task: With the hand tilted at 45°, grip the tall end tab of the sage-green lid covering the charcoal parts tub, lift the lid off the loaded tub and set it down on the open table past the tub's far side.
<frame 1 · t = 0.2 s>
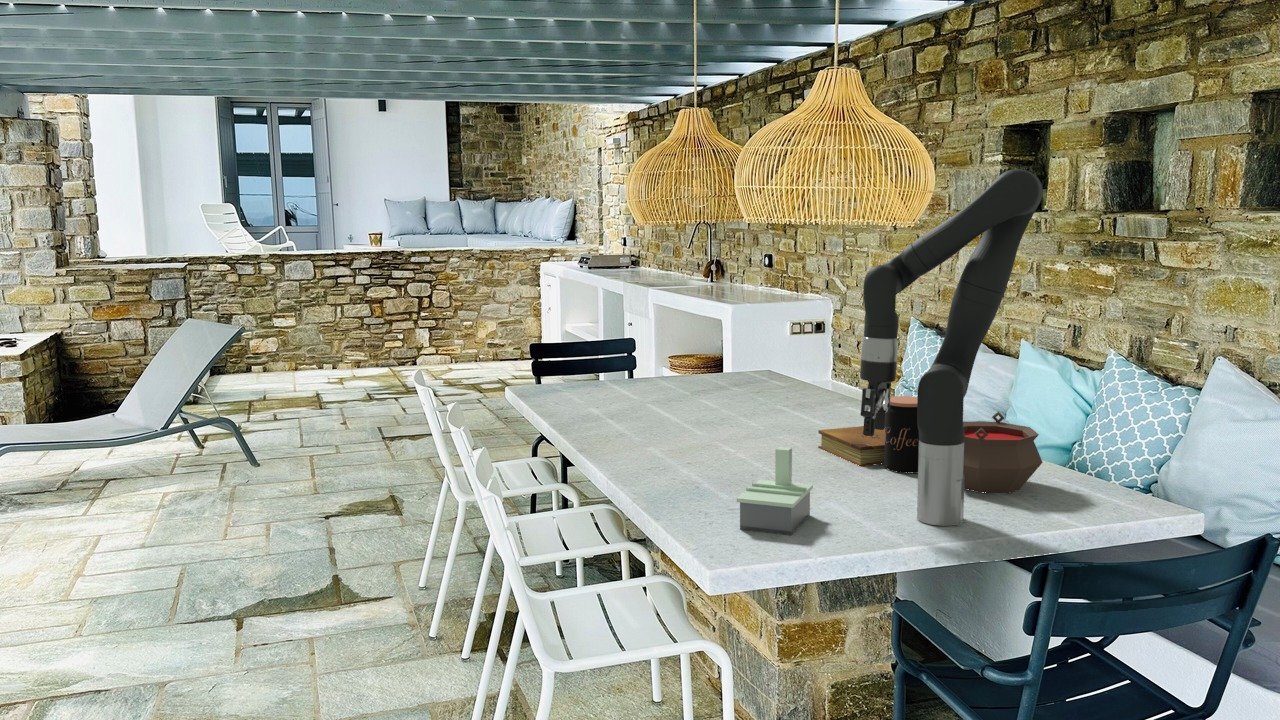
hand: (874, 432, 218), 18 cm above the table, tool pointing down, fingers open, 8 cm apart
coffee jar: (905, 469, 259), on the table
diary: (868, 456, 276), on the table
tub: (775, 522, 216), on the table
lid: (775, 494, 215), point 6 cm above the table, touching tub
brown faceted pot: (988, 486, 242), on the table
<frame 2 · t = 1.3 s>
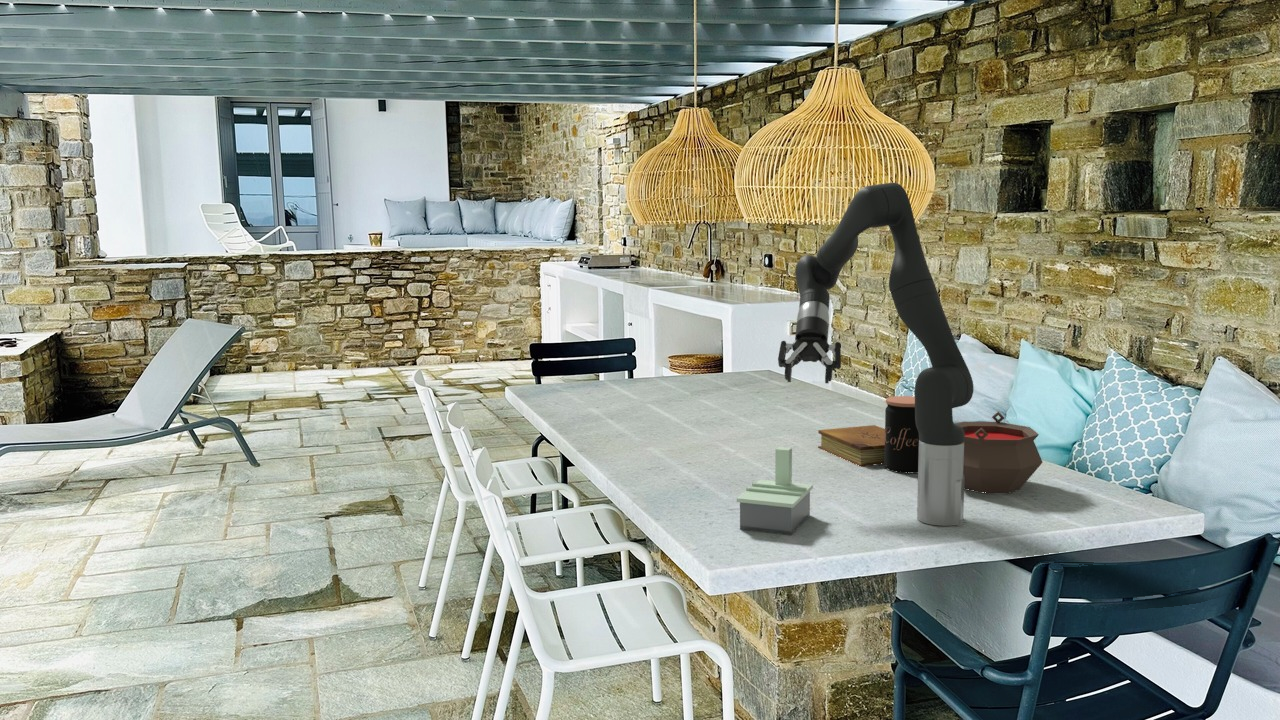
hand: (807, 380, 230), 28 cm above the table, tool tilted 45°, fingers open, 8 cm apart
nothing on the table moved.
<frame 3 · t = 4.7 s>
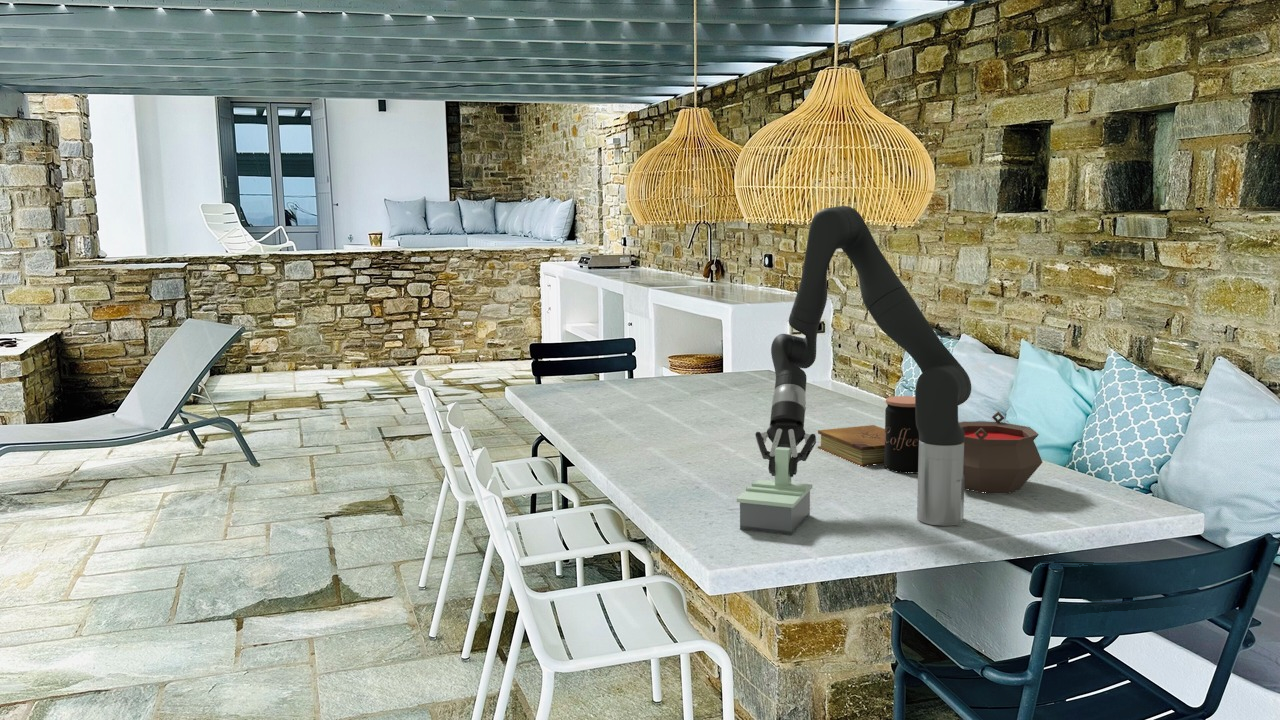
hand: (782, 474, 218), 10 cm above the table, tool tilted 45°, fingers closed on lid, 3 cm apart
lid: (775, 494, 215), point 6 cm above the table, touching gripper, tub
everything else where it was.
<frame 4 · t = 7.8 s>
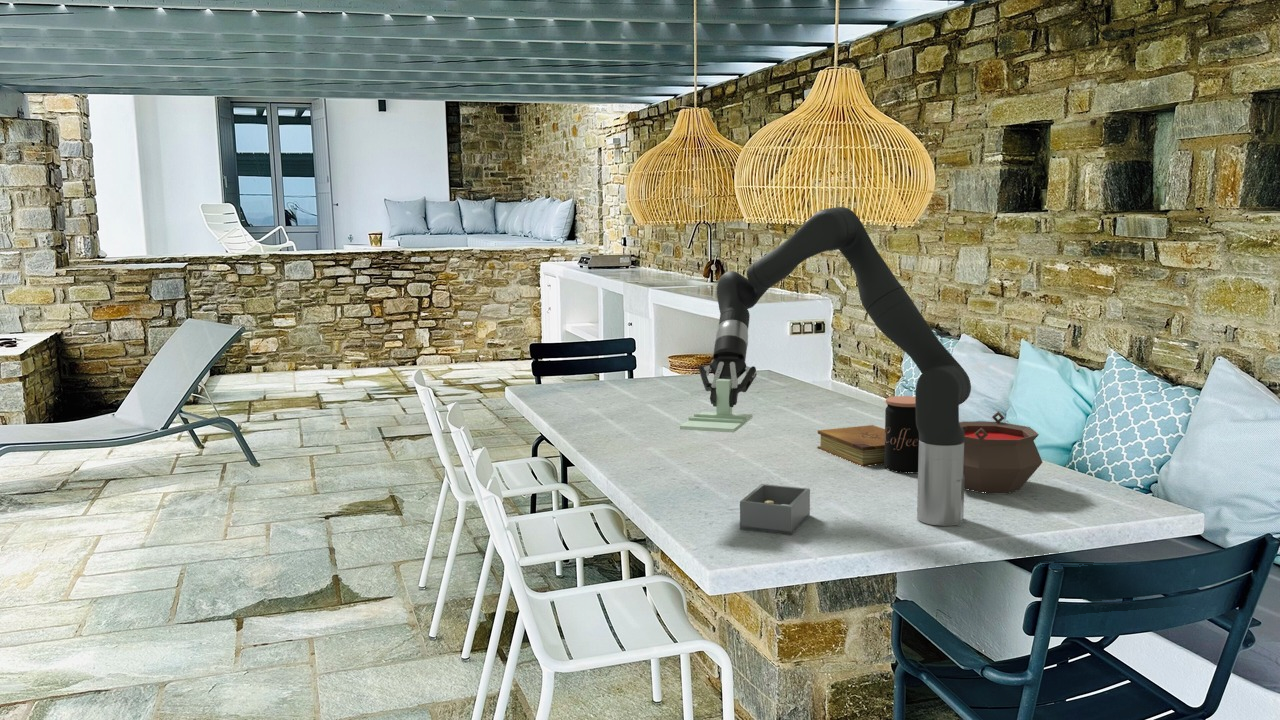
hand: (722, 404, 226), 23 cm above the table, tool tilted 45°, fingers closed on lid, 3 cm apart
lid: (717, 423, 223), point 20 cm above the table, touching gripper
everything else where it was.
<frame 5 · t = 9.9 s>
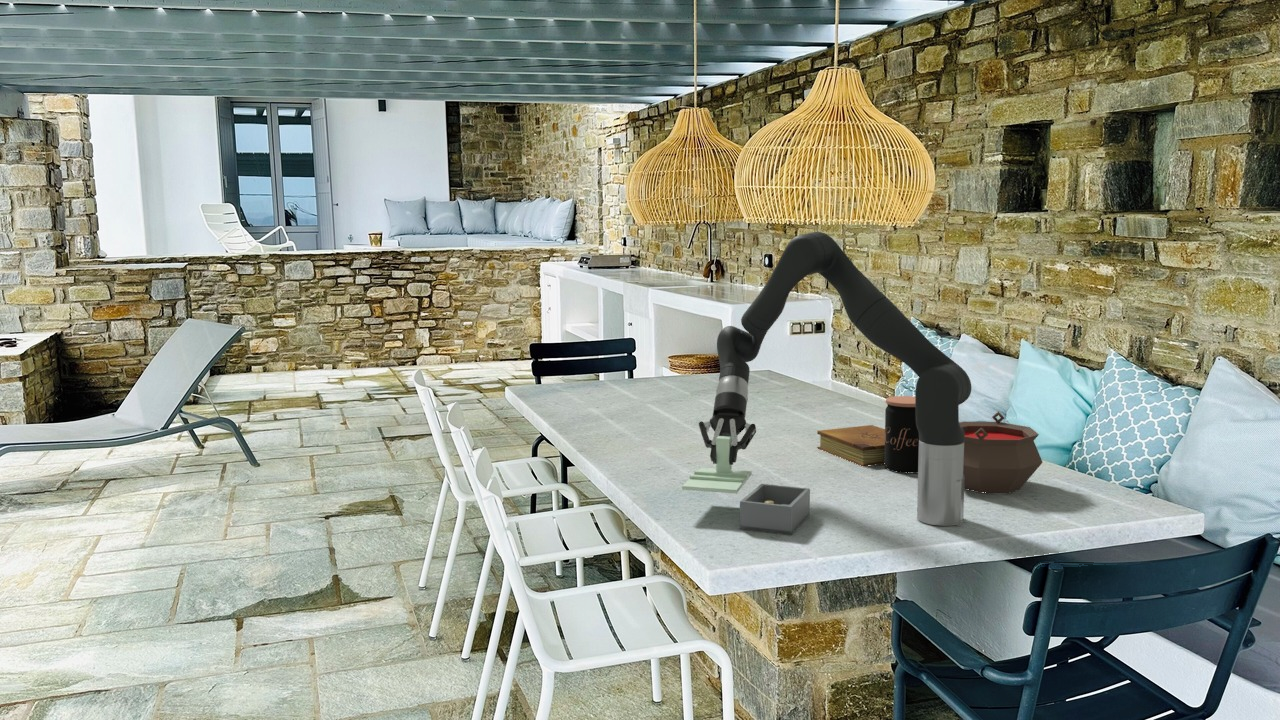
hand: (722, 462, 228), 10 cm above the table, tool tilted 45°, fingers closed on lid, 3 cm apart
lid: (717, 481, 224), point 6 cm above the table, touching gripper
everything else where it was.
when the fingers open (5 cm above the table, at t = 11.3 s): lid drops 2 cm, on the table.
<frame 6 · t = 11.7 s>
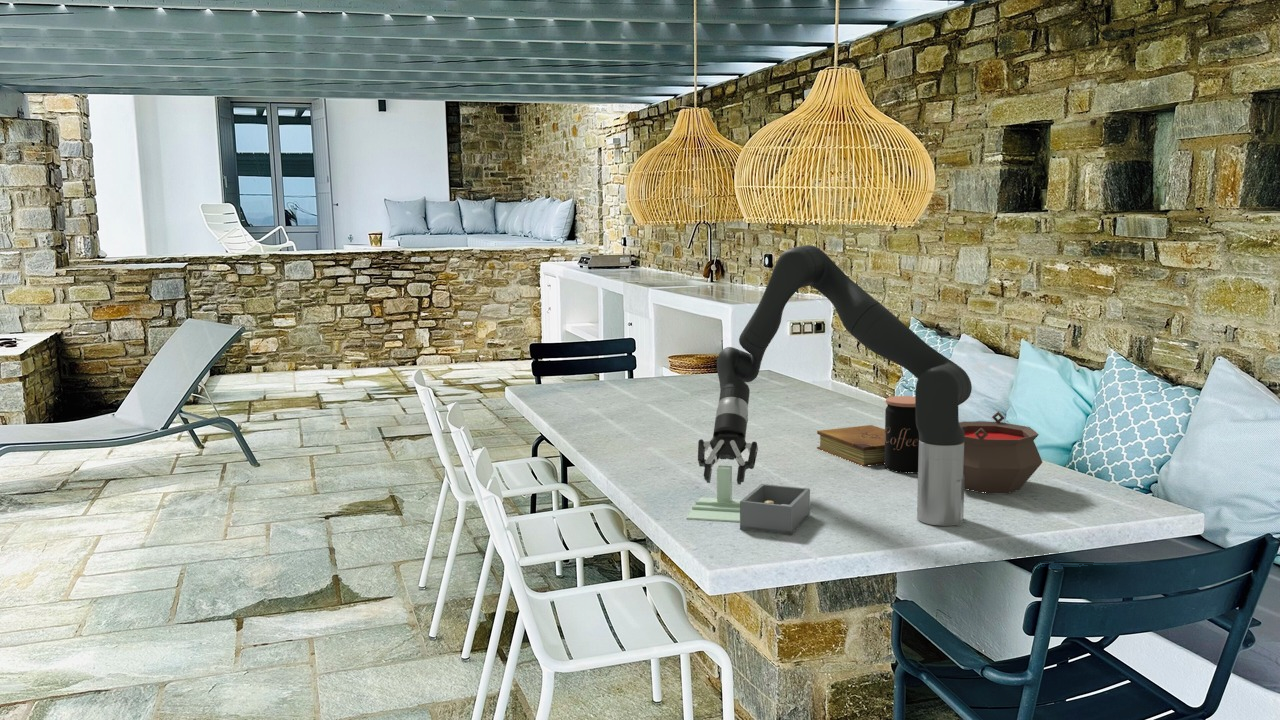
hand: (723, 481, 229), 5 cm above the table, tool tilted 45°, fingers open, 6 cm apart
lid: (720, 512, 225), on the table
everything else where it was.
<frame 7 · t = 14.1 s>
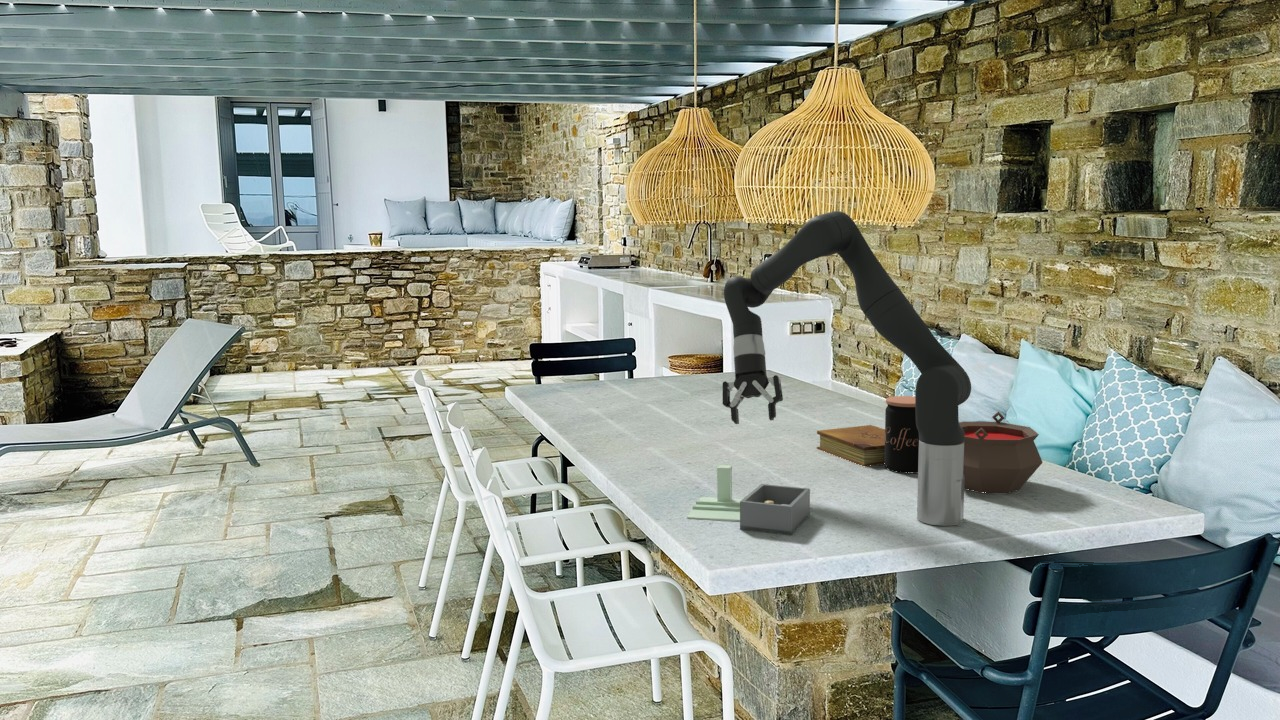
hand: (754, 421, 240), 16 cm above the table, tool tilted 25°, fingers open, 8 cm apart
nothing on the table moved.
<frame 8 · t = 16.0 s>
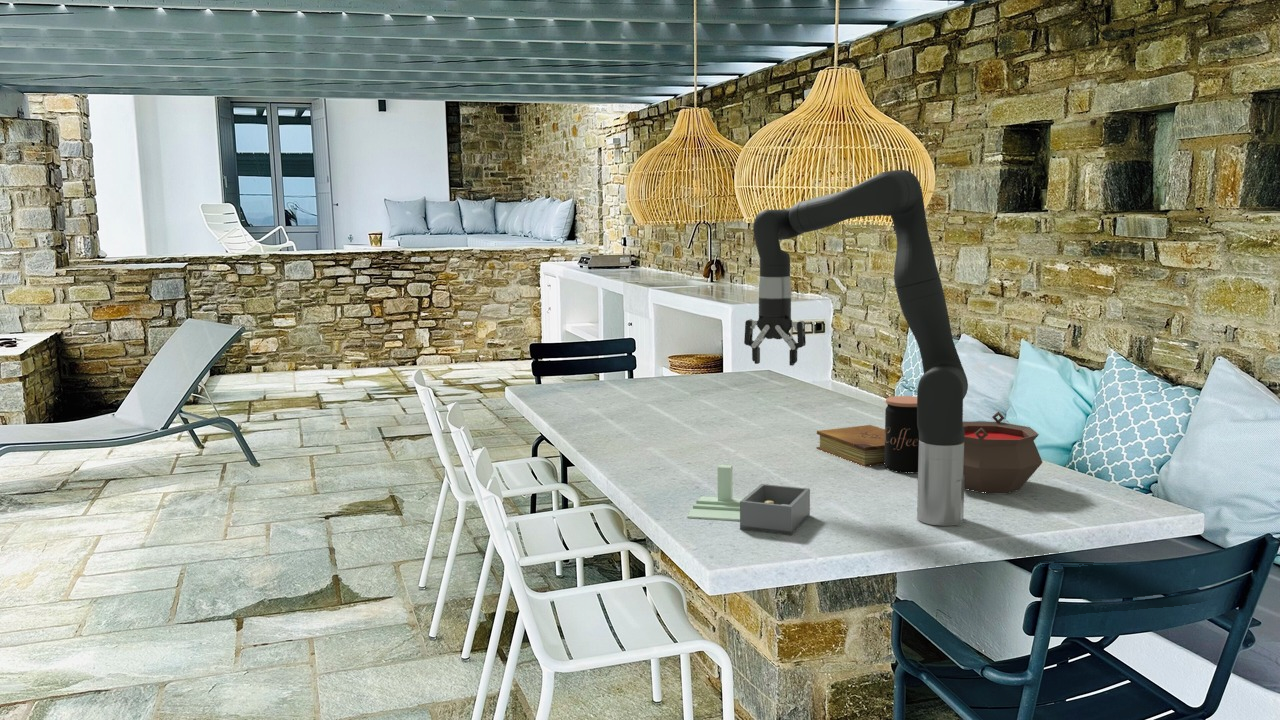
hand: (774, 364, 238), 30 cm above the table, tool pointing down, fingers open, 8 cm apart
nothing on the table moved.
at the end: lid inside the target area (1.4 cm from its centre), on the table; lid touching table; the gripper is holding nothing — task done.
